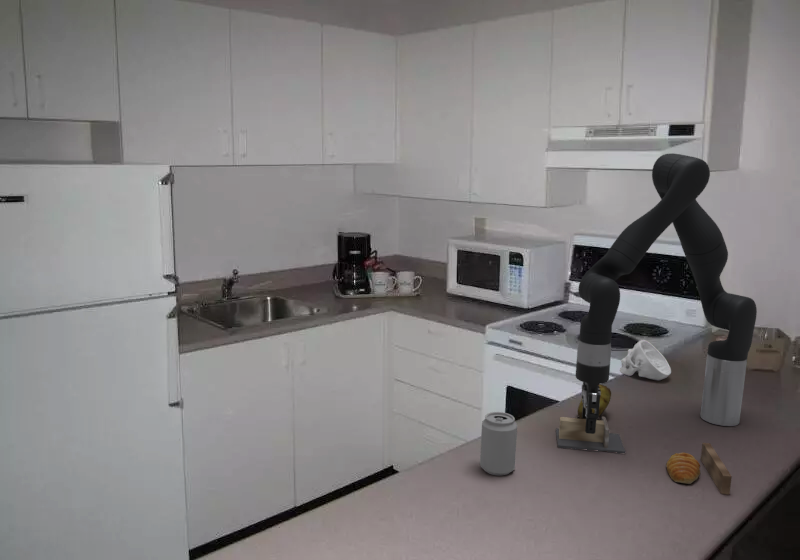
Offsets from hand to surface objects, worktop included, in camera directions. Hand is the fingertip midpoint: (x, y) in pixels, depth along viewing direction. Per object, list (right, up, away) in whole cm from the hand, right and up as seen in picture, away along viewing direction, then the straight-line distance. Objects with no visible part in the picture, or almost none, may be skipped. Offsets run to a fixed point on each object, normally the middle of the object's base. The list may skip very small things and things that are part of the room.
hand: (588, 425), depth 159 cm
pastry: (+16, -8, -15) cm, 23 cm away
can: (-24, -6, -14) cm, 28 cm away
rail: (+23, -7, -15) cm, 28 cm away
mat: (0, -4, +1) cm, 4 cm away
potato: (+5, -1, +16) cm, 17 cm away
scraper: (-2, -3, +1) cm, 4 cm away
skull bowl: (+31, +4, +50) cm, 59 cm away
